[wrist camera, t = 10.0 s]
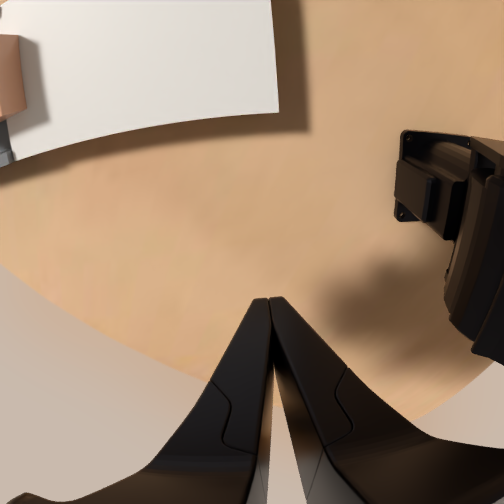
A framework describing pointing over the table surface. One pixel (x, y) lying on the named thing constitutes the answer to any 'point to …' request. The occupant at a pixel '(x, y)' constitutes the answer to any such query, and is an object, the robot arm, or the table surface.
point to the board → (136, 65)
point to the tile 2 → (10, 78)
